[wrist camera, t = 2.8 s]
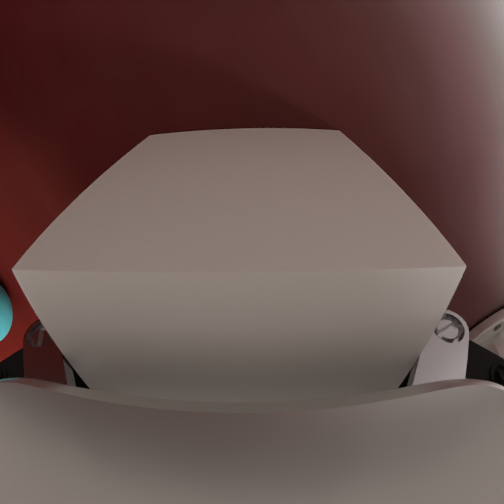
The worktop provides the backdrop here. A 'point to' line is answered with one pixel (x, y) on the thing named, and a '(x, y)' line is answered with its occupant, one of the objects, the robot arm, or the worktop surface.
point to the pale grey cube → (241, 270)
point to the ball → (5, 313)
